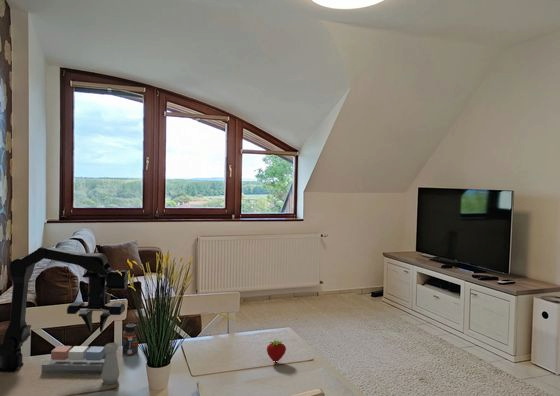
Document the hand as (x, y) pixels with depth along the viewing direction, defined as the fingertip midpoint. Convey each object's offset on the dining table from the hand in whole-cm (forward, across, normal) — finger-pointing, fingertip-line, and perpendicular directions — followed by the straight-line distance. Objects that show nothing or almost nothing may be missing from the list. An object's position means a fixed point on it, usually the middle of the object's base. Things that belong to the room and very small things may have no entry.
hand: (96, 331), depth 154 cm
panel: (+13, +6, 0) cm, 14 cm away
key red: (+9, +12, 0) cm, 15 cm away
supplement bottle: (+13, -9, -12) cm, 20 cm away
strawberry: (+13, -66, -6) cm, 68 cm away
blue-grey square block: (+9, 0, 0) cm, 9 cm away
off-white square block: (+9, +6, 0) cm, 11 cm away
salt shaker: (+13, -9, +11) cm, 19 cm away
